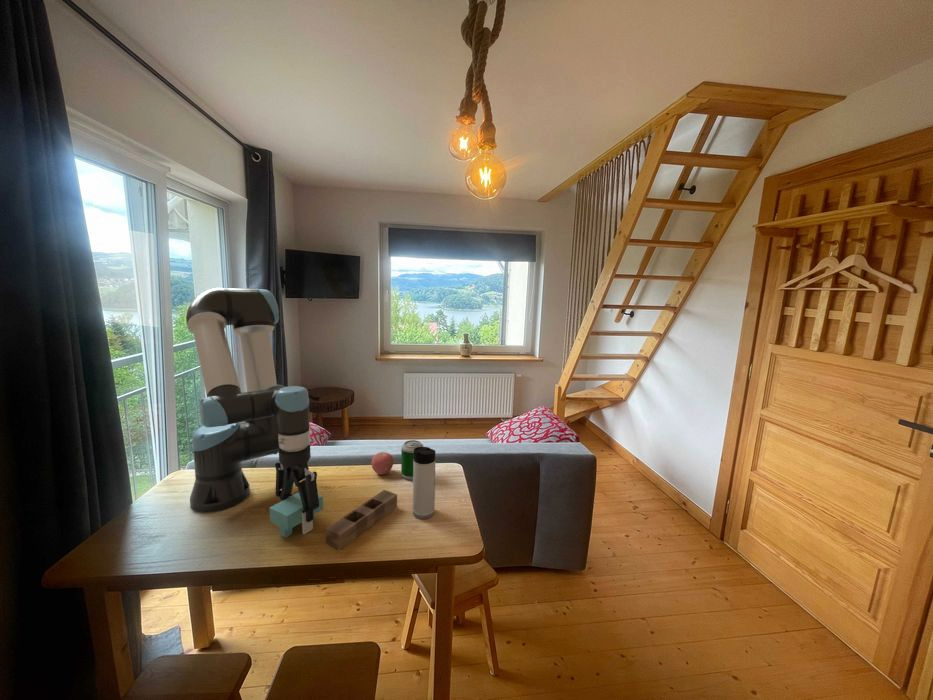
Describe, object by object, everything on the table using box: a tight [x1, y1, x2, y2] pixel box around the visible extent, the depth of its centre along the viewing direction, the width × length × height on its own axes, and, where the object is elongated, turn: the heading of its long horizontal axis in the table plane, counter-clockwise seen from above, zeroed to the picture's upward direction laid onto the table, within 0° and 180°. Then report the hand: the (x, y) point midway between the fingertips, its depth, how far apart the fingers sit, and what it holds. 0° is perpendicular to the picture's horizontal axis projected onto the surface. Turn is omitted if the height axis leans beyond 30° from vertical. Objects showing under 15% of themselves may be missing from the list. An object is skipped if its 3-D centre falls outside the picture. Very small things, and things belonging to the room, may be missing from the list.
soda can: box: [400, 439, 425, 481], centre depth 130 cm, size 8×8×12 cm
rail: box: [325, 489, 398, 551], centre depth 104 cm, size 5×22×4 cm, turn 151°
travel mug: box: [412, 446, 436, 520], centre depth 108 cm, size 6×7×20 cm
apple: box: [371, 451, 395, 476], centre depth 132 cm, size 7×7×8 cm
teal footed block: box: [269, 491, 324, 539], centre depth 101 cm, size 7×11×8 cm, turn 151°
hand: (297, 526), depth 102 cm, fingers open, 7 cm apart
